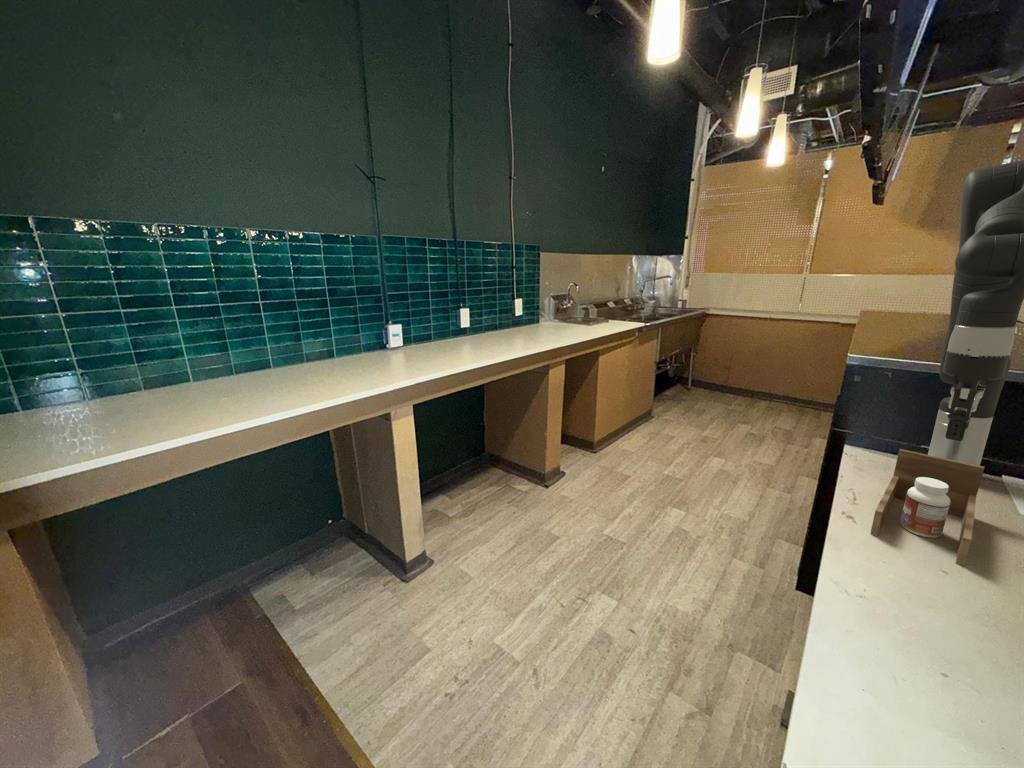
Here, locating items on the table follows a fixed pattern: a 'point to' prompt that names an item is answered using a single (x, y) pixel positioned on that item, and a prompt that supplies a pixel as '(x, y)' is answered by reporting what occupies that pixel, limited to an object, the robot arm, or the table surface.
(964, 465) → the open-sided box
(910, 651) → the table surface
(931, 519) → the pill bottle
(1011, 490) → the table surface
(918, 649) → the table surface
